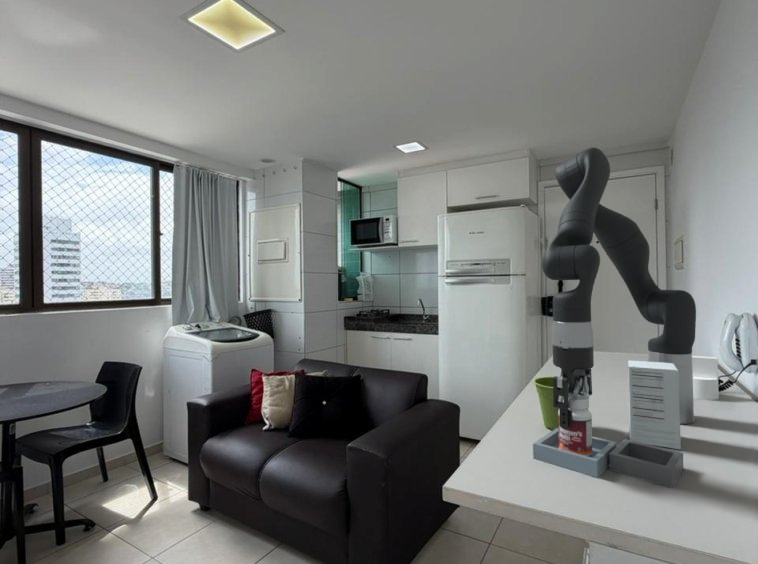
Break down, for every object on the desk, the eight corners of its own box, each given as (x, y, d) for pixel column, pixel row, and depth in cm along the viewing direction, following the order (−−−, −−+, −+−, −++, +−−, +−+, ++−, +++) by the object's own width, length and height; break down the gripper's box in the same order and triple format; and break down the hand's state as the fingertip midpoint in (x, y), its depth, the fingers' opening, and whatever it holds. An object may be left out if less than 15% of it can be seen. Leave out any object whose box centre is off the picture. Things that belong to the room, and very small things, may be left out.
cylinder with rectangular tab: (716, 394, 124) (714, 355, 124) (721, 401, 116) (720, 360, 116) (679, 390, 129) (678, 353, 129) (682, 397, 121) (681, 358, 121)
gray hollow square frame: (624, 453, 83) (624, 439, 83) (683, 468, 76) (683, 452, 76) (609, 469, 76) (609, 453, 76) (672, 487, 69) (672, 470, 69)
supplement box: (681, 450, 83) (679, 370, 84) (629, 442, 88) (628, 366, 88) (676, 435, 92) (674, 362, 92) (629, 428, 96) (627, 359, 97)
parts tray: (557, 441, 90) (556, 427, 90) (617, 457, 81) (616, 442, 81) (533, 458, 81) (532, 443, 81) (597, 477, 73) (596, 461, 73)
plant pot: (527, 419, 104) (526, 376, 104) (573, 419, 104) (572, 376, 104) (544, 436, 92) (543, 388, 92) (596, 436, 92) (595, 387, 92)
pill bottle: (555, 453, 81) (553, 397, 81) (564, 443, 86) (562, 391, 86) (588, 461, 77) (587, 403, 77) (595, 451, 82) (594, 396, 82)
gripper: (567, 338, 89) (568, 410, 89) (539, 345, 79) (540, 427, 79) (604, 341, 84) (605, 418, 83) (578, 349, 74) (581, 437, 74)
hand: (574, 422), depth 81 cm, fingers open, 8 cm apart
